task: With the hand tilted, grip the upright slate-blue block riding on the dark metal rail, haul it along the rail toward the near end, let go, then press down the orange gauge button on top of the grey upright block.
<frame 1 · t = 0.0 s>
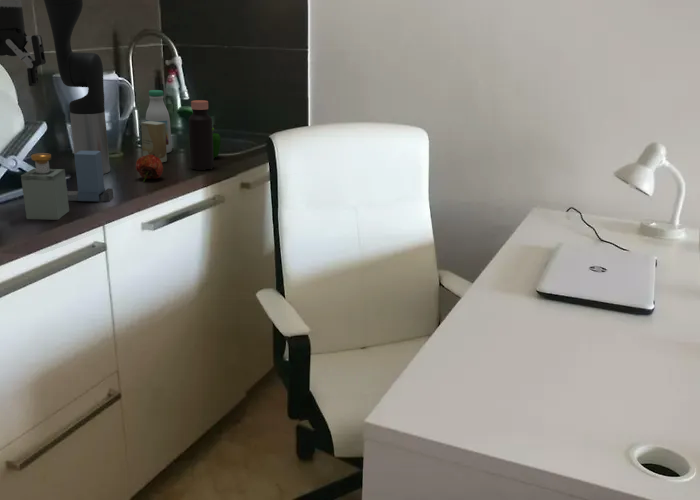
hand: (12, 85, 145), 29 cm above the worktop, tool pointing down, fingers open, 8 cm apart
bell pepper: (207, 158, 220), on the worktop
vinegar: (202, 169, 206), on the worktop
grey upright block: (48, 214, 157), on the worktop
rail: (70, 198, 170), on the worktop
upright slate-blue block: (90, 175, 168), point 6 cm above the worktop, slide at 0.0 cm
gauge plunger: (42, 170, 153), point 10 cm above the worktop, slide at 0.0 cm
skincare box: (155, 162, 213), on the worktop
milk bottle: (159, 152, 227), on the worktop
red round fruit: (150, 180, 191), on the worktop
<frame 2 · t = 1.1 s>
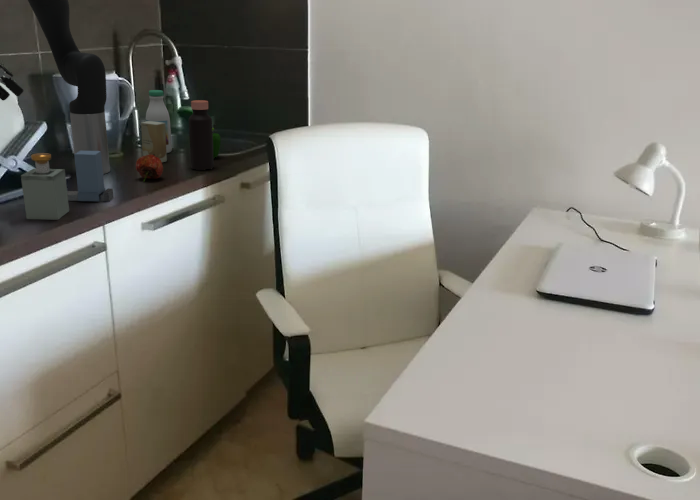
hand: (14, 95, 164), 25 cm above the worktop, tool tilted 45°, fingers open, 8 cm apart
nothing on the worktop moved.
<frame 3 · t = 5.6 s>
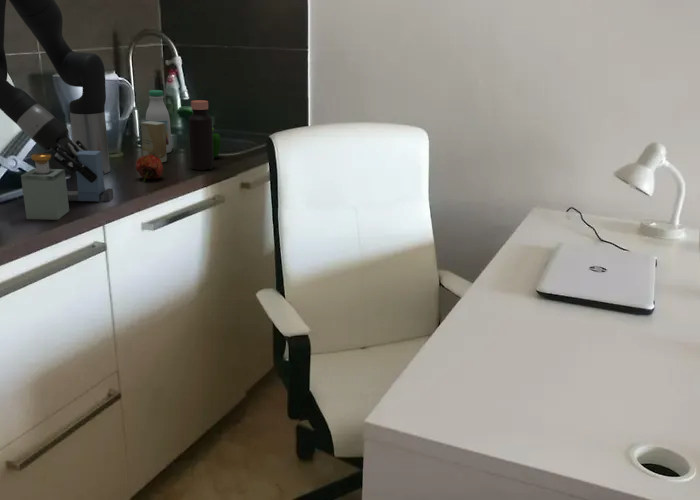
hand: (98, 177, 168), 6 cm above the worktop, tool tilted 45°, fingers closed on upright slate-blue block, 4 cm apart
upright slate-blue block: (90, 175, 168), point 6 cm above the worktop, slide at 0.0 cm, touching gripper
everything else where it was.
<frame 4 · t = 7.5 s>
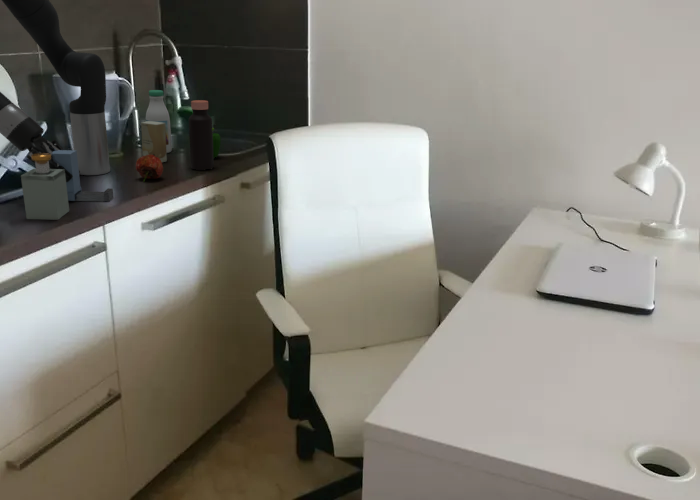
hand: (73, 177, 168), 6 cm above the worktop, tool tilted 45°, fingers closed on upright slate-blue block, 4 cm apart
upright slate-blue block: (65, 175, 168), point 6 cm above the worktop, slide at 5.9 cm, touching gripper
everything else where it was.
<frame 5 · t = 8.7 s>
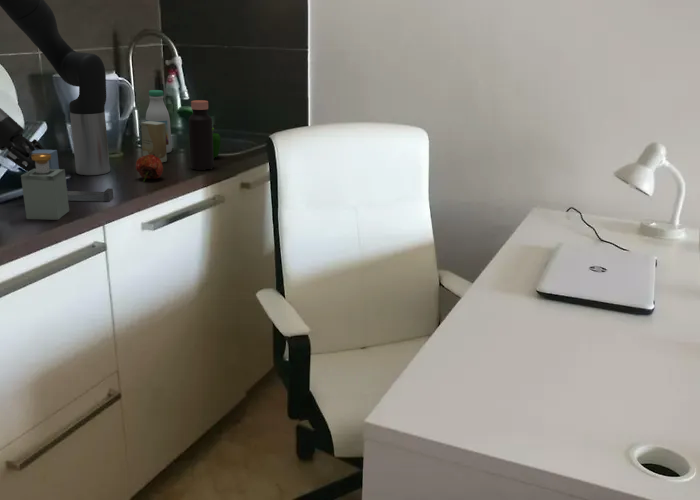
hand: (53, 176, 168), 6 cm above the worktop, tool tilted 45°, fingers closed on upright slate-blue block, 4 cm apart
upright slate-blue block: (45, 174, 168), point 6 cm above the worktop, slide at 10.7 cm, touching gripper
everything else where it was.
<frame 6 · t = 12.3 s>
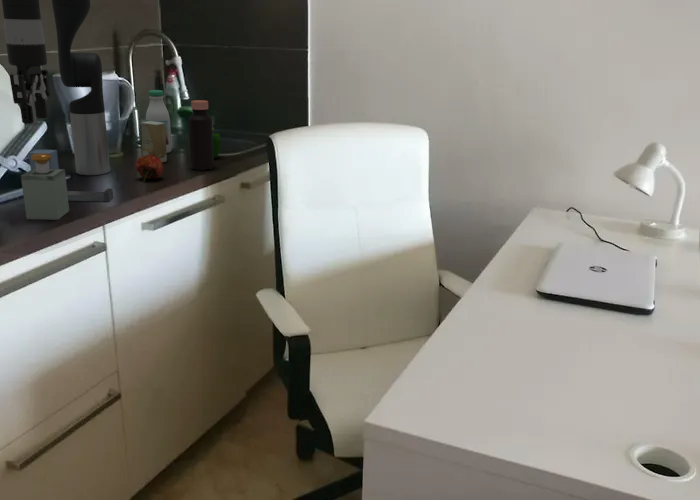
hand: (35, 120, 150), 22 cm above the worktop, tool pointing down, fingers open, 7 cm apart
upright slate-blue block: (45, 174, 168), point 6 cm above the worktop, slide at 10.8 cm
everything else where it was.
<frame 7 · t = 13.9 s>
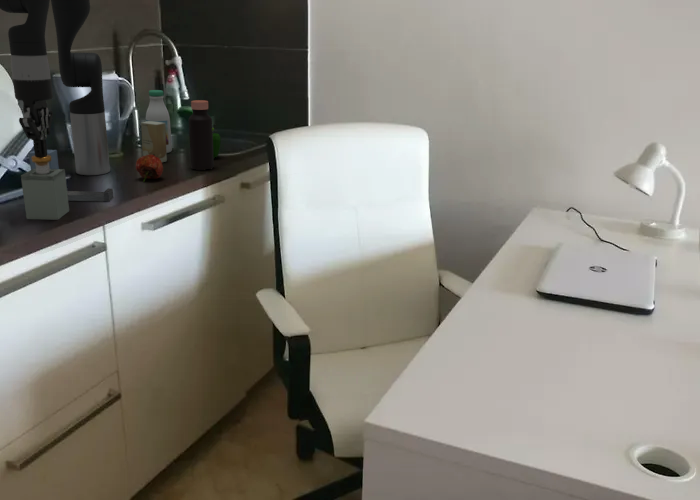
hand: (41, 156, 152), 14 cm above the worktop, tool pointing down, fingers closed
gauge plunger: (43, 171, 153), point 10 cm above the worktop, slide at 0.4 cm, touching gripper
everything else where it was.
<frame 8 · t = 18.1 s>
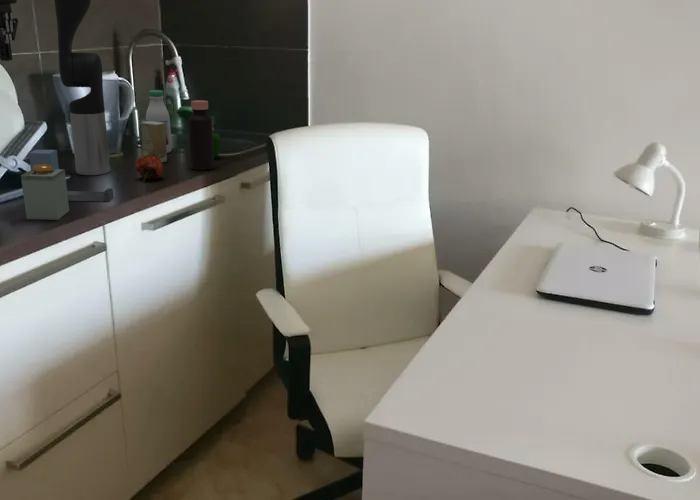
hand: (6, 60, 159), 33 cm above the worktop, tool pointing down, fingers closed
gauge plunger: (44, 181, 154), point 8 cm above the worktop, slide at 2.5 cm
everything else where it was.
at the end: upright slate-blue block slide at 10.8 cm; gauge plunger slide at 2.5 cm; the gripper is holding nothing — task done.
